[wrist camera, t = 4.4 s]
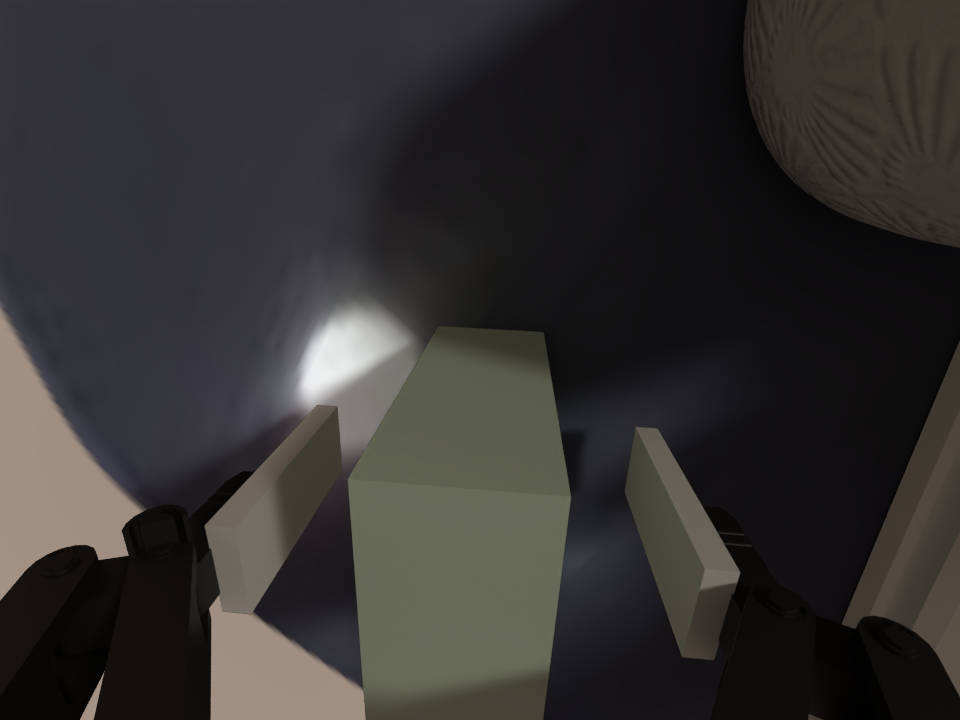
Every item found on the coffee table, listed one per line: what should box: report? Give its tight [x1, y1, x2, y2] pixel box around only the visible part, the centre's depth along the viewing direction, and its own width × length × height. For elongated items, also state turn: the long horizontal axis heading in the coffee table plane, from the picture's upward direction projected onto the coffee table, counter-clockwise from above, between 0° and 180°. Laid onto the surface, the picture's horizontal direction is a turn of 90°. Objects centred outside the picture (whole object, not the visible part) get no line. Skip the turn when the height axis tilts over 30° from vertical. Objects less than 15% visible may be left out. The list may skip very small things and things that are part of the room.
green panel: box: [348, 326, 571, 720], centre depth 14 cm, size 8×4×10 cm, turn 178°
